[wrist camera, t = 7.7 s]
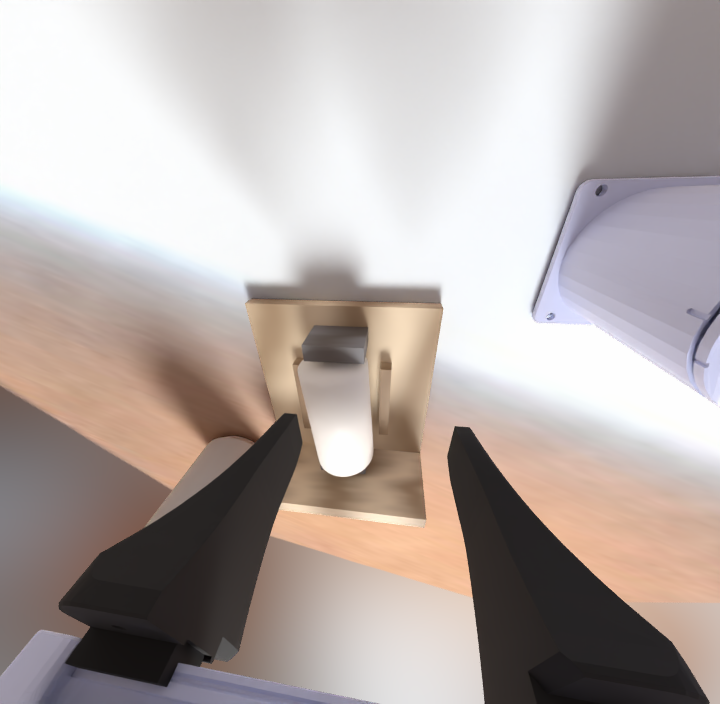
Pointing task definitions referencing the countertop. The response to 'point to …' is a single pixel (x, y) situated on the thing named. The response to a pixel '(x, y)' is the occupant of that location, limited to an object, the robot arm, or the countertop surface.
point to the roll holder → (387, 396)
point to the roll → (339, 414)
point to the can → (204, 471)
